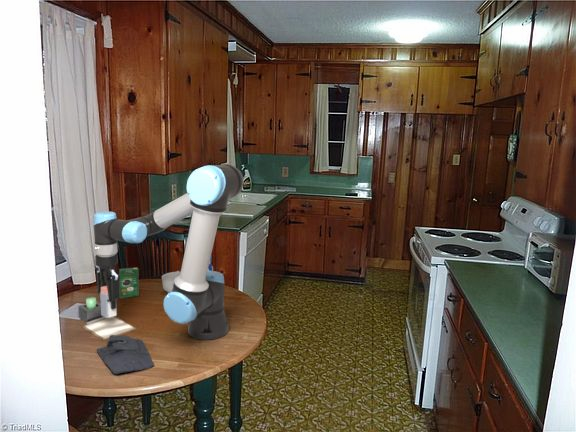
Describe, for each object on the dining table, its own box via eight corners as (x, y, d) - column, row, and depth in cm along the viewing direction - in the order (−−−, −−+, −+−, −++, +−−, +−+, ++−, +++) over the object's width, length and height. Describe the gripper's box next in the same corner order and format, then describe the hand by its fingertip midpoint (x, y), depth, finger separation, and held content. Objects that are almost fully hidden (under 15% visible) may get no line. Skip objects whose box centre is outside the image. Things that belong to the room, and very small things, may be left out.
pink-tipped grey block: (116, 315, 160) (115, 287, 158) (106, 318, 157) (105, 289, 155) (111, 311, 163) (110, 284, 161) (101, 315, 160) (99, 287, 158)
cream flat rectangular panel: (136, 329, 161) (136, 326, 161) (103, 341, 151) (103, 338, 151) (113, 316, 172) (113, 313, 172) (81, 326, 162) (80, 324, 162)
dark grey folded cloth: (106, 382, 128) (105, 367, 127) (95, 349, 146) (94, 336, 145) (157, 368, 136) (157, 355, 135) (141, 339, 154) (141, 327, 153)
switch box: (105, 317, 170) (104, 305, 169) (87, 323, 165) (86, 311, 164) (96, 312, 174) (95, 301, 173) (79, 317, 169) (78, 306, 168)
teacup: (179, 296, 194) (179, 279, 193) (157, 294, 196) (157, 277, 195) (192, 286, 208) (192, 270, 206) (171, 284, 210) (171, 268, 208)
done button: (98, 310, 169) (97, 298, 168) (89, 313, 166) (88, 301, 166) (94, 308, 171) (93, 296, 171) (85, 310, 169) (84, 298, 168)
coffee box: (138, 293, 196) (137, 266, 193) (139, 296, 193) (138, 268, 191) (119, 296, 192) (118, 268, 189) (120, 298, 189) (119, 270, 187)
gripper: (85, 251, 158) (88, 310, 162) (108, 261, 147) (111, 324, 152) (104, 247, 164) (107, 305, 168) (128, 257, 153) (130, 318, 157)
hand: (109, 314), depth 160 cm, fingers closed on pink-tipped grey block, 4 cm apart
